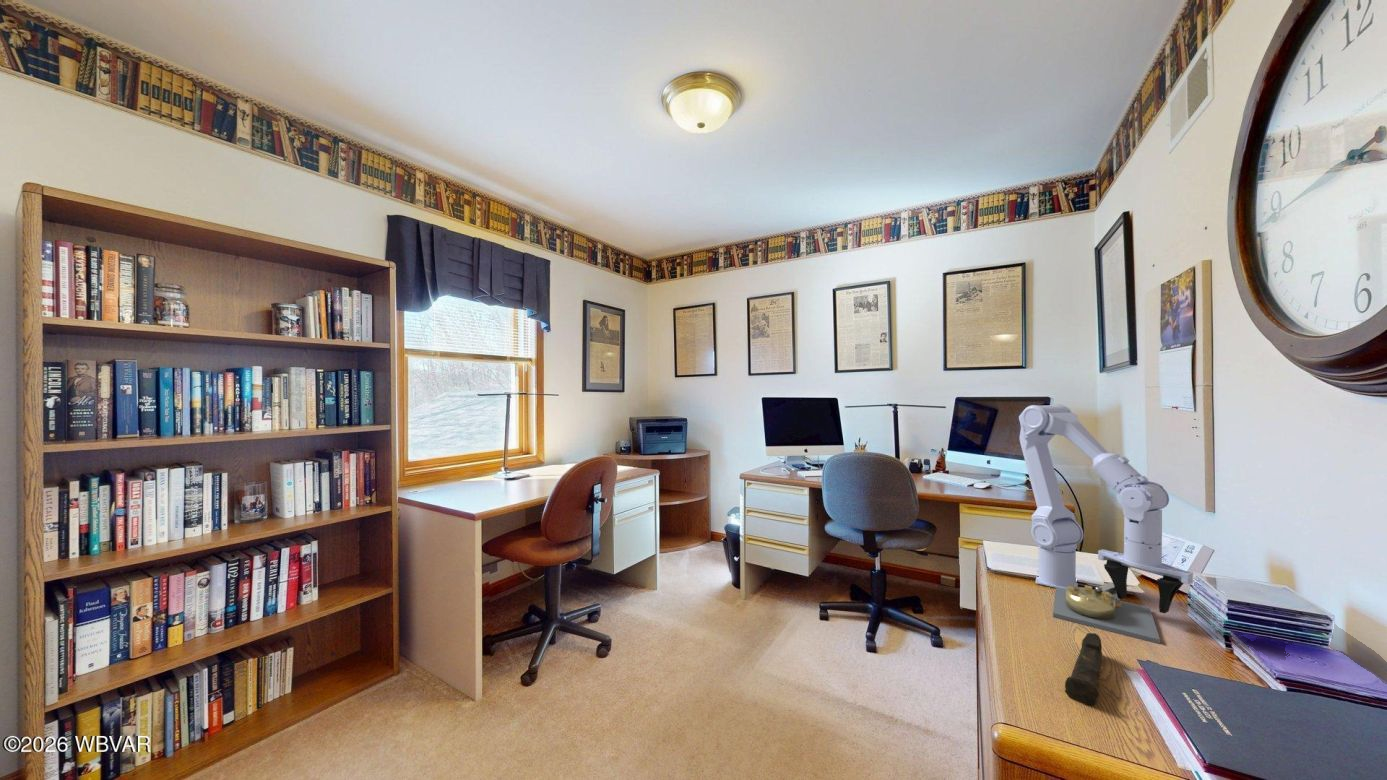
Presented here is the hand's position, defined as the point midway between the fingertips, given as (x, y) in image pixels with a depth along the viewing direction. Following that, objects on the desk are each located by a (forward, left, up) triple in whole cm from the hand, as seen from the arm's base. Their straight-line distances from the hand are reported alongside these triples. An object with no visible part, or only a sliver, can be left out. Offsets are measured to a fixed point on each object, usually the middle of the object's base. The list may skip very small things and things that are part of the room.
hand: (1142, 604), depth 97 cm
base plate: (+3, -7, -3) cm, 8 cm away
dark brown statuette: (+32, -10, -3) cm, 34 cm away
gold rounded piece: (+3, -7, -1) cm, 8 cm away
